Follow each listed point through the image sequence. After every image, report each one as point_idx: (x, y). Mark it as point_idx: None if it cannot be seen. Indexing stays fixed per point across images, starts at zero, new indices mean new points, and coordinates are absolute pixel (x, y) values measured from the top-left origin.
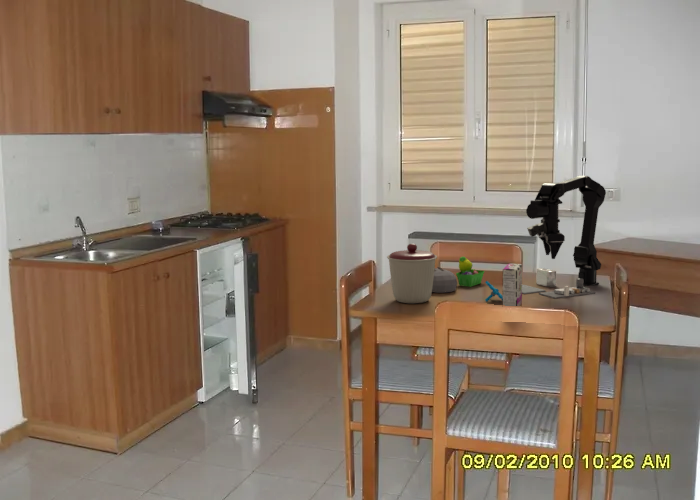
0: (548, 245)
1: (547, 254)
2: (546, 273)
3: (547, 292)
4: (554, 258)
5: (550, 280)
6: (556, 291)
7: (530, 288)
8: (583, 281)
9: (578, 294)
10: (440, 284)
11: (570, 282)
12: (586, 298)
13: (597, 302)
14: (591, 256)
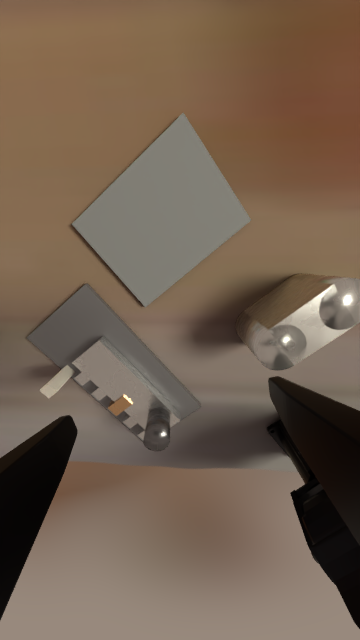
0: (346, 485)
1: (271, 388)
2: (266, 325)
3: (103, 314)
4: (66, 434)
5: (243, 332)
6: (92, 345)
7: (168, 250)
8: (282, 428)
9: (100, 403)
10: None
11: (321, 386)
12: None
13: (23, 440)
14: (324, 571)
